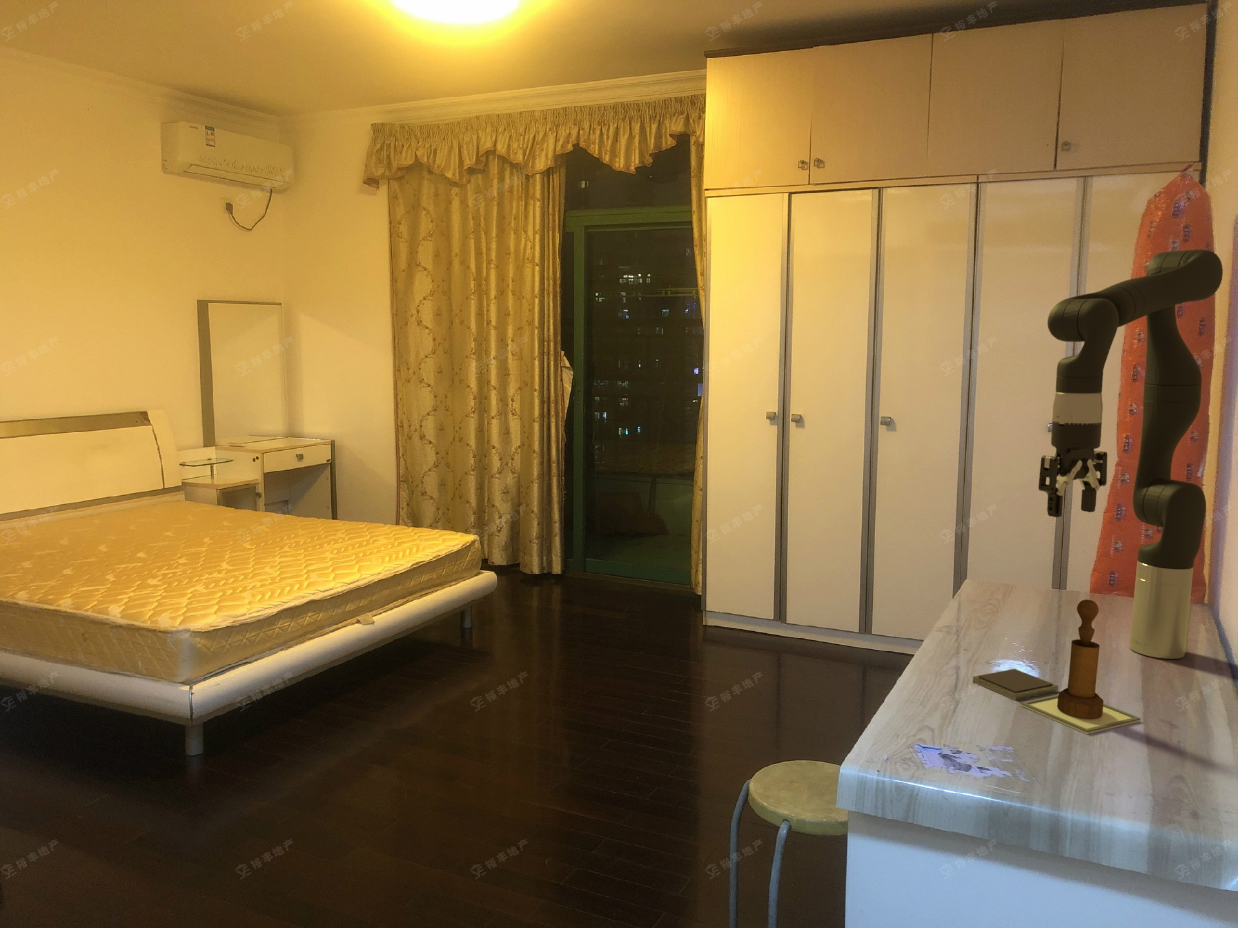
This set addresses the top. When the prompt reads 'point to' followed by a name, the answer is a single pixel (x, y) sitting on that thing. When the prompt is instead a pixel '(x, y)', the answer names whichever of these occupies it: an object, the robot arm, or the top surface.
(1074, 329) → the robot arm
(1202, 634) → the top surface
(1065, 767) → the top surface
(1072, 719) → the print card
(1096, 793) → the top surface
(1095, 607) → the brown wooden stamp
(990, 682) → the ink pad
